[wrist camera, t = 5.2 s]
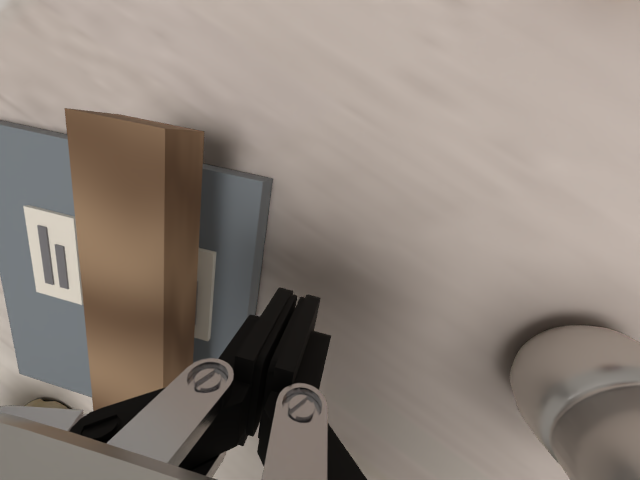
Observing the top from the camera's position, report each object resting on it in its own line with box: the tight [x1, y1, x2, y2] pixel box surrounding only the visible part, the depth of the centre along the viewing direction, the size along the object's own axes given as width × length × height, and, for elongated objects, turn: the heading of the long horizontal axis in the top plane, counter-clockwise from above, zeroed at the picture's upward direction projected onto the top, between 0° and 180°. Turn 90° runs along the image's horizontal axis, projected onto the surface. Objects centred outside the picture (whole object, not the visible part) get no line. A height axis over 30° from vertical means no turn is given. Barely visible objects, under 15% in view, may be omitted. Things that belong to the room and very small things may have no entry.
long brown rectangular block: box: [65, 108, 204, 411], centre depth 15 cm, size 21×4×2 cm, turn 169°
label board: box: [0, 120, 273, 397], centre depth 19 cm, size 19×18×4 cm
